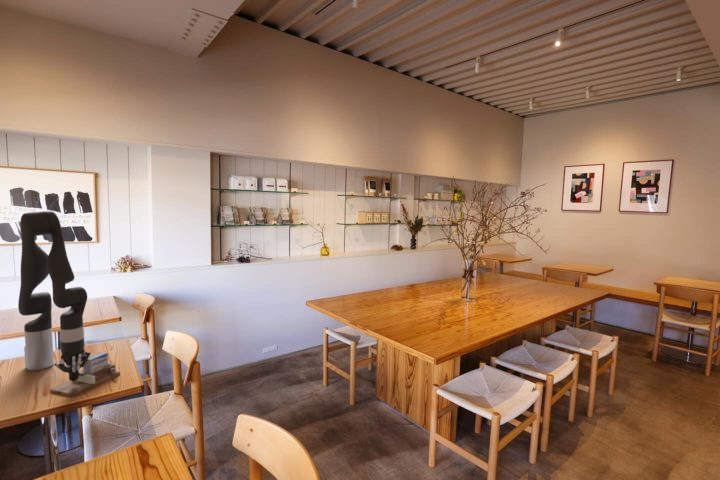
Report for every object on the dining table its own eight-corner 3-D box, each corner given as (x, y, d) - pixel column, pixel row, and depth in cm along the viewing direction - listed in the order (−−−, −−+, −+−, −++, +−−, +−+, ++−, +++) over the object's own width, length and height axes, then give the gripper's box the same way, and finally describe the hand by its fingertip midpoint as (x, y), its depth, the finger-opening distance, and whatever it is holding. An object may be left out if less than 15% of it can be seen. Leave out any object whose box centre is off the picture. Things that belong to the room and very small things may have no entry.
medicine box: (91, 380, 153) (90, 360, 152) (83, 378, 154) (82, 358, 153) (108, 372, 161) (108, 352, 160) (100, 370, 162) (99, 351, 161)
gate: (70, 380, 152) (69, 371, 152) (74, 378, 154) (74, 369, 153) (90, 384, 149) (90, 375, 149) (95, 382, 151) (94, 373, 151)
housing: (50, 392, 145) (49, 381, 145) (98, 370, 164) (97, 361, 164) (73, 397, 142) (73, 386, 142) (119, 374, 161) (119, 365, 161)
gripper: (62, 345, 139) (64, 389, 141) (95, 333, 152) (97, 374, 154) (47, 342, 141) (49, 386, 143) (81, 331, 154) (82, 371, 156)
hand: (74, 380), depth 148 cm, fingers closed
